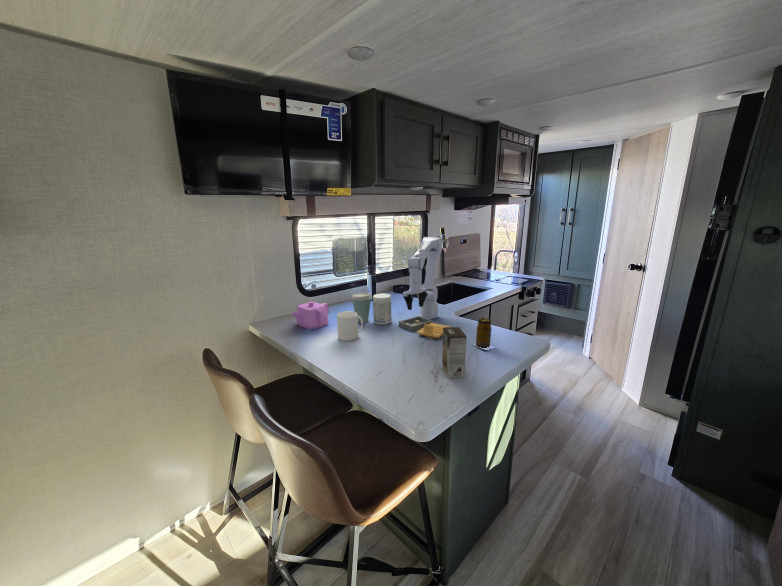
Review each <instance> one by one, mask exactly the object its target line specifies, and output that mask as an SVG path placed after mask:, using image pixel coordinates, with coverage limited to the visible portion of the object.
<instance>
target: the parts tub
mask: <svg viewBox="0 0 782 586" xmlns="http://www.w3.org/2000/svg"><path fill="white" fill-rule="evenodd" d="M430 323H433V320H432V319H430V320H429V319H426V318H424V317H421V316H419V315H417V316H413V317H410V318H407V319H403V320H399V321H398V327H400V328H402V329H405V330H406V331H408V332H411V333H413V332H417V331H419V330H420V329H422V328H424V325H425V324H430Z"/></svg>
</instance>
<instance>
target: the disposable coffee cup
mask: <svg viewBox="0 0 782 586" xmlns="http://www.w3.org/2000/svg"><path fill="white" fill-rule="evenodd" d="M351 300H352V306H353V312H356V313H357V316H360V317H361V318H362V321H363V324H364V323H367V322H368V321H369V316H370V309H371V301H372V295H371V293H370V292H359V293H358V292H357V293H354V294H352V296H351ZM358 323H361V320H360V319H358Z"/></svg>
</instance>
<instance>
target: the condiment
mask: <svg viewBox="0 0 782 586" xmlns="http://www.w3.org/2000/svg"><path fill="white" fill-rule="evenodd" d="M475 337H476V338H475V343H476V346H478V347H481V348H487V347H489V346H490V345H491V338H492V320H491V319H489V318H483V317H482V318H479V319H478V321H477V325H476V335H475ZM478 349H479V350H481V351H483V350H484V349H480V348H478Z"/></svg>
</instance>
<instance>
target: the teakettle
mask: <svg viewBox="0 0 782 586" xmlns="http://www.w3.org/2000/svg"><path fill="white" fill-rule="evenodd" d="M291 314H292V316H293V317H294V318H295V319H296V320H295V321H296V323H297V325H298V326H299V325H300V326H299V327H300V328H303V327H304V328H303V329H305V328H306V330H308V329H313V330H315V328H316V329H320V328H323V327H326V326H328V324H329V316H328V314H330V310H329V305H328V303H326V302H324V303H320V302H315V301H312V300H311V301H308V302H306V303H298V305H297V306H296V311H293V312H291ZM325 325H326V326H325ZM322 326H323V327H322ZM319 327H320V328H319Z"/></svg>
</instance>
